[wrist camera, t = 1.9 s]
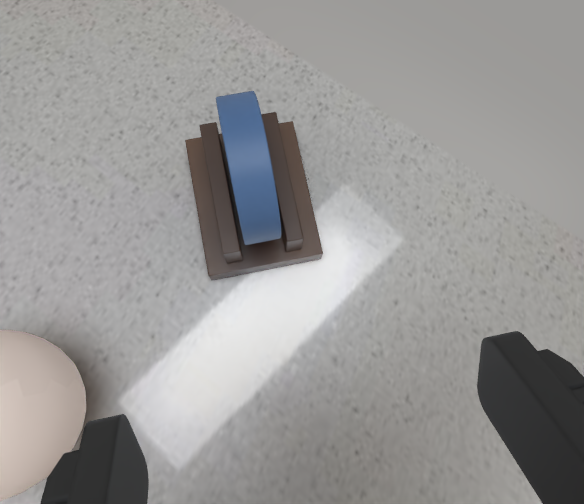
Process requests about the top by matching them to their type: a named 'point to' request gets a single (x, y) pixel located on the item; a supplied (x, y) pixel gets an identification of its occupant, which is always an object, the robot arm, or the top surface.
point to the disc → (249, 167)
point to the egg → (36, 409)
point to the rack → (223, 211)
